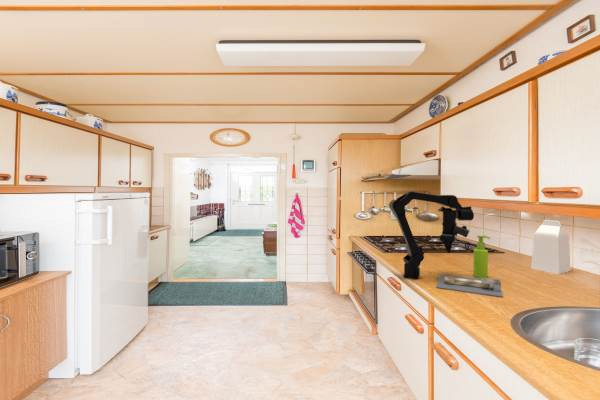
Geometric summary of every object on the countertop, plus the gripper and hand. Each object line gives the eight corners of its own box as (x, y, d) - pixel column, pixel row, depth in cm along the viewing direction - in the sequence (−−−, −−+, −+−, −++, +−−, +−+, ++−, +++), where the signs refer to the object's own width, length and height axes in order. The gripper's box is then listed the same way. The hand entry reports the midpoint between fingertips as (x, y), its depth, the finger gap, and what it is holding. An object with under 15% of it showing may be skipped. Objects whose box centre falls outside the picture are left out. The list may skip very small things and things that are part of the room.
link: (444, 283, 130) (444, 277, 129) (444, 281, 134) (444, 274, 133) (490, 289, 122) (490, 282, 122) (488, 286, 126) (488, 279, 126)
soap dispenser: (487, 279, 137) (488, 237, 136) (471, 276, 142) (472, 235, 141) (491, 276, 141) (492, 236, 140) (475, 273, 146) (476, 234, 145)
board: (436, 288, 126) (436, 286, 126) (440, 274, 145) (440, 273, 145) (503, 297, 114) (503, 296, 114) (497, 281, 133) (497, 280, 133)
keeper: (481, 290, 122) (481, 280, 122) (480, 286, 127) (481, 277, 127) (500, 293, 119) (500, 282, 119) (499, 289, 124) (499, 279, 123)
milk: (531, 268, 154) (531, 220, 153) (543, 265, 159) (543, 218, 158) (558, 274, 144) (559, 222, 143) (570, 271, 148) (571, 220, 147)
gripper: (467, 223, 128) (467, 258, 129) (468, 219, 144) (468, 250, 145) (439, 222, 134) (439, 255, 135) (444, 218, 150) (443, 248, 151)
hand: (448, 252), depth 141 cm, fingers closed
